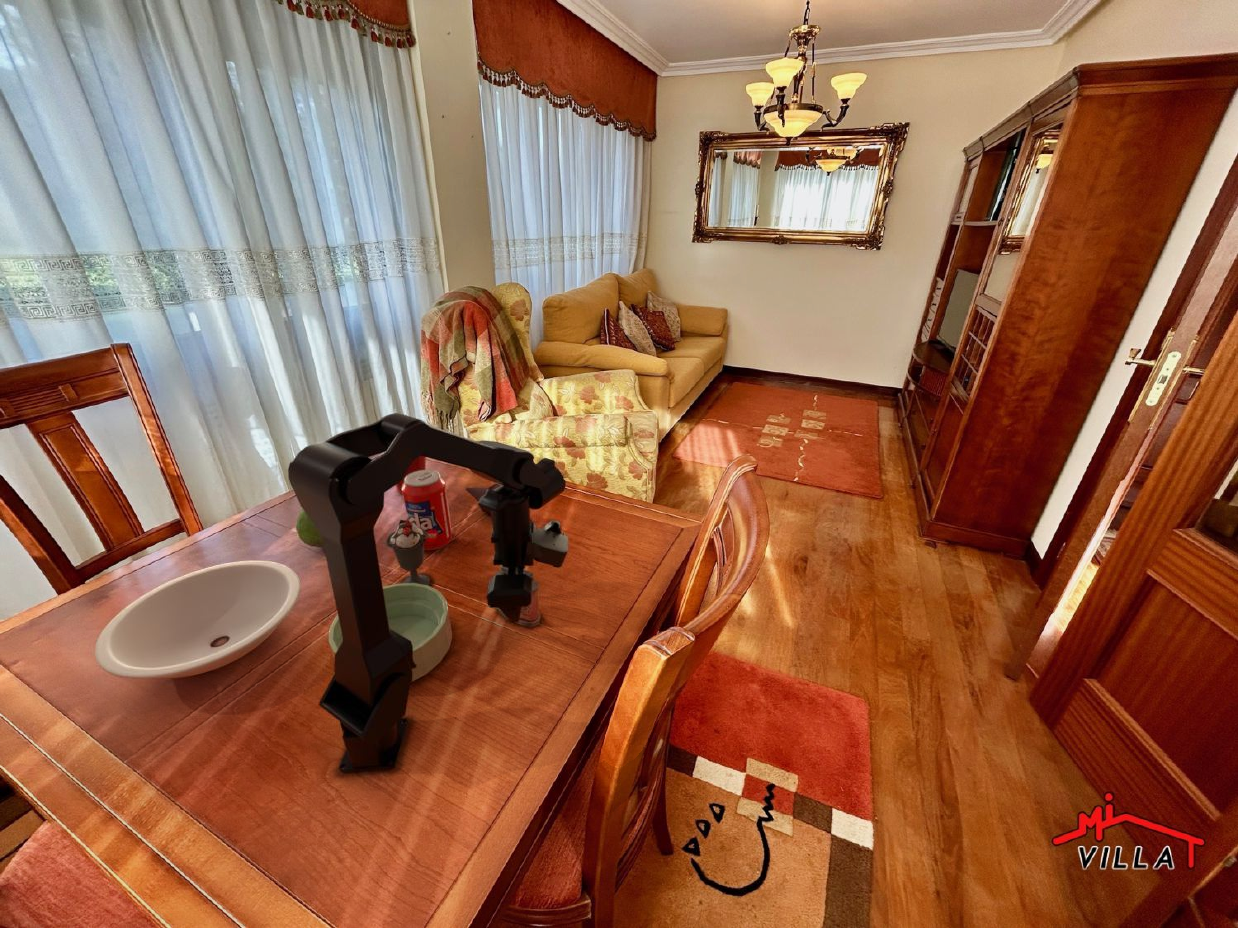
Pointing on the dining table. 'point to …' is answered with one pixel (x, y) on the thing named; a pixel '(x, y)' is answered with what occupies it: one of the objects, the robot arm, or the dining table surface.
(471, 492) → the icecream
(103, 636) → the white sink basin
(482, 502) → the robot arm
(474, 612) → the dining table surface
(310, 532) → the fruit
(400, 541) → the sundae
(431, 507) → the soda can
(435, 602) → the bowl
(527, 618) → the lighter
